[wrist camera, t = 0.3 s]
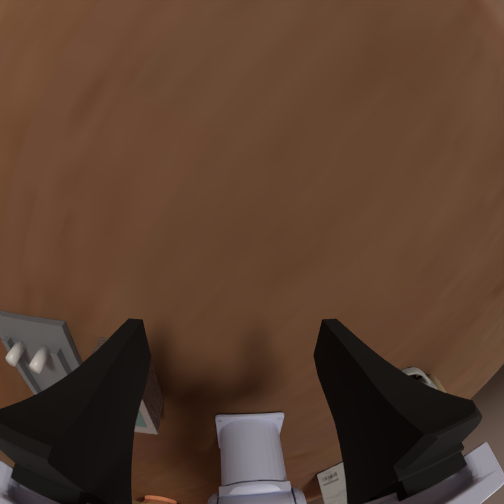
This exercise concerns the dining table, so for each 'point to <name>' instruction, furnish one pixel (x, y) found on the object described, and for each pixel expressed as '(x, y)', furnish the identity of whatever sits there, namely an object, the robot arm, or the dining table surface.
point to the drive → (146, 401)
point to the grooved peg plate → (38, 349)
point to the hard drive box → (333, 485)
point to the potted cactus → (158, 500)
